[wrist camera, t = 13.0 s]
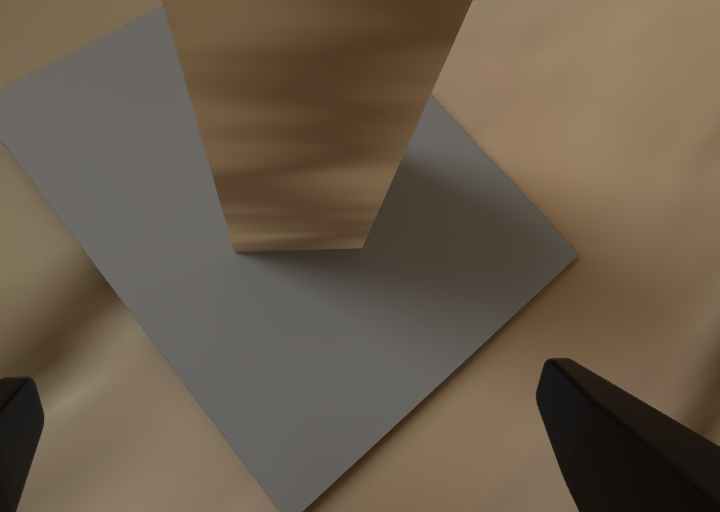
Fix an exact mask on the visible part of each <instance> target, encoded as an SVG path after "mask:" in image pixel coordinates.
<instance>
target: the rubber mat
mask: <svg viewBox="0 0 720 512" xmlns="http://www.w3.org/2000/svg"><path fill="white" fill-rule="evenodd" d="M0 139H1V140H2V142H3V143H4V144H5V146H6V147H7V148H8V150H9V151H10V152H11V154H12V155H13V156H14V157H15V159H16V160H17V161H18V163H19V164H20V165H21V167H22V168H23V169H24V171H25V172H26V173H27V175H28V176H29V177H30V179H31V180H32V181H33V183H34V184H35V185H36V187H37V188H38V189H39V191H40V192H41V193H42V195H43V196H44V197H45V199H46V200H47V201H48V203H49V204H50V205H51V207H52V208H53V209H54V211H55V212H56V213H57V215H58V216H59V217H60V219H61V220H62V221H63V223H64V224H65V225H66V227H67V228H68V229H69V231H70V232H71V233H72V235H73V236H74V237H75V239H76V240H77V241H78V243H79V244H80V245H81V247H82V248H83V249H84V251H85V252H86V253H87V255H88V256H89V257H90V259H91V260H92V261H93V263H94V264H95V265H96V267H97V268H98V269H99V271H100V272H101V273H102V275H103V276H104V277H105V279H106V280H107V281H108V283H109V284H110V285H111V287H112V288H113V289H114V291H115V292H116V293H117V295H118V296H119V297H120V299H121V300H122V301H123V303H124V304H125V305H126V307H127V308H128V309H129V311H130V312H131V313H132V315H133V316H134V317H135V319H136V320H137V321H138V323H139V324H140V325H141V327H142V328H143V329H144V331H145V332H146V333H147V335H148V336H149V337H150V339H151V340H152V341H153V343H154V344H155V345H156V347H157V348H158V349H159V351H160V352H161V353H162V355H163V356H164V357H165V359H166V360H167V361H168V363H169V364H170V365H171V367H172V368H173V369H174V371H175V372H176V373H177V375H178V376H179V377H180V379H181V380H182V381H183V383H184V384H185V385H186V387H187V388H188V389H189V391H190V392H191V393H192V395H193V396H194V397H195V399H196V400H197V401H198V403H199V404H200V405H201V407H202V408H203V409H204V411H205V412H206V413H207V415H208V416H209V417H210V419H211V420H212V421H213V423H214V424H215V425H216V427H217V428H218V429H219V431H220V432H221V433H222V435H223V436H224V437H225V439H226V440H227V441H228V443H229V444H230V445H231V447H232V448H233V449H234V451H235V452H236V453H237V455H238V456H239V457H240V459H241V460H242V461H243V463H244V464H245V465H246V467H247V468H248V469H249V471H250V472H251V473H252V475H253V476H254V477H255V479H256V480H257V481H258V483H259V484H260V485H261V487H262V488H263V489H264V491H265V492H266V493H267V495H268V496H269V497H270V499H271V500H272V501H273V503H274V504H275V505H276V507H277V508H278V509H279V511H280V512H303V511H304V510H305V509H306V508H307V507H308V506H309V505H310V504H311V503H312V502H313V501H314V500H315V499H317V498H318V497H319V496H320V495H321V494H322V493H323V492H324V491H325V490H326V489H327V488H328V487H329V486H331V485H332V484H333V483H334V482H335V481H336V480H337V479H338V478H339V477H340V476H341V475H342V474H343V473H345V472H346V471H347V470H348V469H349V468H350V467H351V466H352V465H353V464H354V463H355V462H356V461H357V460H359V459H360V458H361V457H362V456H363V455H364V454H365V453H366V452H367V451H368V450H369V449H370V448H372V447H373V446H374V445H375V444H376V443H377V442H378V441H379V440H380V439H381V438H382V437H383V436H384V435H386V434H387V433H388V432H389V431H390V430H391V429H392V428H393V427H394V426H395V425H396V424H397V423H398V422H400V421H401V420H402V419H403V418H404V417H405V416H406V415H407V414H408V413H409V412H410V411H411V410H412V409H414V408H415V407H416V406H417V405H418V404H419V403H420V402H421V401H422V400H423V399H424V398H425V397H426V396H428V395H429V394H430V393H431V392H432V391H433V390H434V389H435V388H436V387H437V386H438V385H439V384H440V383H442V382H443V381H444V380H445V379H446V378H447V377H448V376H449V375H450V374H451V373H452V372H453V371H454V370H456V369H457V368H458V367H459V366H460V365H461V364H462V363H463V362H464V361H465V360H466V359H467V358H468V357H470V356H471V355H472V354H473V353H474V352H475V351H476V350H477V349H478V348H479V347H480V346H481V345H482V344H484V343H485V342H486V341H487V340H488V339H489V338H490V337H491V336H492V335H493V334H494V333H495V332H496V331H498V330H499V329H500V328H501V327H502V326H503V325H504V324H505V323H506V322H507V321H508V320H509V319H510V318H512V317H513V316H514V315H515V314H516V313H517V312H518V311H519V310H520V309H521V308H522V307H523V306H524V305H526V304H527V303H528V302H529V301H530V300H531V299H532V298H533V297H534V296H535V295H536V294H537V293H539V292H540V291H541V290H542V289H543V288H544V287H545V286H546V285H547V284H548V283H549V282H550V281H551V280H553V279H554V278H555V277H556V276H557V275H558V274H559V273H560V272H561V271H562V270H563V269H564V268H565V267H567V266H568V265H569V264H570V263H571V262H572V261H573V260H574V259H575V258H576V257H577V256H578V255H579V253H578V252H577V251H576V250H575V249H574V248H573V246H572V245H571V244H570V243H569V242H568V241H567V240H566V239H565V238H564V237H563V236H562V235H561V234H560V233H559V232H558V230H557V229H556V228H555V227H554V226H553V225H552V224H551V223H550V222H549V221H548V220H547V219H546V218H545V217H544V215H543V214H542V213H541V212H540V211H539V210H538V209H537V208H536V207H535V206H534V205H533V204H532V203H531V202H530V201H529V199H528V198H527V197H526V196H525V195H524V194H523V193H522V192H521V191H520V190H519V189H518V188H517V187H516V186H515V185H514V183H513V182H512V181H511V180H510V179H509V178H508V177H507V176H506V175H505V174H504V173H503V172H502V171H501V170H500V169H499V167H498V166H497V165H496V164H495V163H494V162H493V161H492V160H491V159H490V158H489V157H488V156H487V155H486V154H485V153H484V151H483V150H482V149H481V148H480V147H479V146H478V145H477V144H476V143H475V142H474V141H473V140H472V139H471V138H470V137H469V135H468V134H467V133H466V132H465V131H464V130H463V129H462V128H461V127H460V126H459V125H458V124H457V123H456V122H455V121H454V119H453V118H452V117H451V116H450V115H449V114H448V113H447V112H446V111H445V110H444V109H443V108H442V107H441V106H440V104H439V103H438V102H437V101H436V100H435V99H434V98H433V97H432V96H431V95H430V97H429V99H428V101H427V103H426V106H425V108H424V110H423V112H422V115H421V117H420V119H419V121H418V124H417V126H416V128H415V130H414V133H413V135H412V137H411V139H410V142H409V144H408V146H407V148H406V151H405V153H404V155H403V157H402V160H401V162H400V164H399V166H398V169H397V171H396V173H395V175H394V178H393V180H392V182H391V184H390V187H389V189H388V191H387V193H386V196H385V198H384V200H383V202H382V205H381V207H380V209H379V211H378V214H377V216H376V218H375V220H374V223H373V225H372V227H371V229H370V232H369V234H368V236H367V238H366V241H365V243H364V245H363V247H362V248H352V249H323V250H294V251H264V252H235V253H234V249H233V246H232V242H231V239H230V235H229V232H228V228H227V225H226V221H225V218H224V214H223V211H222V207H221V204H220V200H219V197H218V193H217V190H216V186H215V183H214V179H213V176H212V172H211V169H210V165H209V162H208V158H207V155H206V151H205V148H204V145H203V141H202V138H201V134H200V131H199V127H198V124H197V120H196V117H195V113H194V110H193V106H192V103H191V99H190V96H189V92H188V89H187V85H186V82H185V78H184V75H183V71H182V68H181V64H180V61H179V57H178V54H177V50H176V47H175V43H174V40H173V36H172V33H171V29H170V26H169V22H168V19H167V15H166V12H165V8H164V6H163V7H161V8H159V9H157V10H155V11H153V12H151V13H149V14H147V15H145V16H143V17H141V18H139V19H137V20H135V21H133V22H131V23H129V24H127V25H125V26H123V27H121V28H119V29H117V30H115V31H114V32H112V33H110V34H108V35H106V36H104V37H102V38H100V39H98V40H96V41H94V42H92V43H90V44H88V45H86V46H84V47H82V48H80V49H78V50H76V51H74V52H72V53H70V54H68V55H66V56H64V57H63V58H61V59H59V60H57V61H55V62H53V63H51V64H49V65H47V66H45V67H43V68H41V69H39V70H37V71H35V72H33V73H31V74H29V75H27V76H25V77H23V78H21V79H19V80H17V81H15V82H13V83H11V84H10V85H8V86H6V87H4V88H2V89H0Z"/></svg>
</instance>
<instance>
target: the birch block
mask: <svg viewBox="0 0 720 512" xmlns="http://www.w3.org/2000/svg"><path fill="white" fill-rule="evenodd" d="M162 1H163V5H164V8H165V12H166V15H167V19H168V22H169V26H170V29H171V33H172V36H173V40H174V43H175V47H176V50H177V54H178V57H179V61H180V64H181V68H182V71H183V75H184V78H185V82H186V85H187V89H188V92H189V96H190V99H191V103H192V106H193V110H194V113H195V117H196V120H197V124H198V127H199V131H200V134H201V138H202V141H203V145H204V148H205V151H206V155H207V158H208V162H209V165H210V169H211V172H212V176H213V179H214V183H215V186H216V190H217V193H218V197H219V200H220V204H221V207H222V211H223V214H224V218H225V221H226V225H227V228H228V232H229V235H230V239H231V242H232V246H233V249H234V253H235V252H264V251H294V250H323V249H352V248H362V247H363V245H364V243H365V241H366V238H367V236H368V234H369V232H370V229H371V227H372V225H373V223H374V220H375V218H376V216H377V214H378V211H379V209H380V207H381V205H382V202H383V200H384V198H385V196H386V193H387V191H388V189H389V187H390V184H391V182H392V180H393V178H394V175H395V173H396V171H397V169H398V166H399V164H400V162H401V160H402V157H403V155H404V153H405V151H406V148H407V146H408V144H409V142H410V139H411V137H412V135H413V133H414V130H415V128H416V126H417V124H418V121H419V119H420V117H421V115H422V112H423V110H424V108H425V106H426V103H427V101H428V99H429V97H430V94H431V92H432V90H433V88H434V86H435V83H436V81H437V79H438V77H439V74H440V72H441V70H442V68H443V65H444V63H445V61H446V59H447V56H448V54H449V52H450V50H451V47H452V45H453V43H454V41H455V38H456V36H457V34H458V32H459V29H460V27H461V25H462V23H463V20H464V18H465V16H466V14H467V11H468V9H469V7H470V5H471V2H472V0H162Z"/></svg>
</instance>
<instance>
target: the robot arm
mask: <svg viewBox="0 0 720 512" xmlns="http://www.w3.org/2000/svg"><path fill="white" fill-rule="evenodd" d="M536 401H537V406H538V408H539V411H540V414H541V417H542V420H543V423H544V425H545V428H546V431H547V434H548V437H549V439H550V442H551V445H552V448H553V451H554V453H555V456H556V459H557V462H558V465H559V467H560V470H561V472H562V475H563V478H564V480H565V482H566V484H567V487H568V489H569V491H570V493H571V495H572V497H573V499H574V501H575V504H576V506H577V508H578V510H579V512H720V446H718V445H716V444H715V443H713V442H711V441H709V440H708V439H706V438H704V437H703V436H701V435H699V434H697V433H696V432H694V431H692V430H691V429H689V428H687V427H686V426H684V425H682V424H680V423H679V422H677V421H675V420H674V419H672V418H670V417H668V416H667V415H665V414H663V413H662V412H660V411H658V410H657V409H655V408H653V407H651V406H650V405H648V404H646V403H645V402H643V401H641V400H639V399H638V398H636V397H634V396H633V395H631V394H629V393H628V392H626V391H624V390H622V389H621V388H619V387H617V386H616V385H614V384H612V383H610V382H609V381H607V380H605V379H604V378H602V377H600V376H599V375H597V374H595V373H593V372H592V371H590V370H588V369H587V368H585V367H583V366H581V365H580V364H578V363H576V362H575V361H573V360H571V359H569V358H551V359H548V360H547V361H546V362H545V363H544V366H543V370H542V373H541V377H540V380H539V384H538V387H537V391H536ZM43 426H44V412H43V408H42V405H41V401H40V398H39V394H38V390H37V387H36V384H35V381H34V380H33V379H32V378H31V377H28V376H20V377H4V378H2V379H0V512H16V510H17V507H18V504H19V501H20V498H21V495H22V492H23V489H24V486H25V483H26V480H27V477H28V473H29V470H30V467H31V464H32V461H33V458H34V455H35V452H36V449H37V445H38V442H39V439H40V436H41V433H42V430H43Z"/></svg>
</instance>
